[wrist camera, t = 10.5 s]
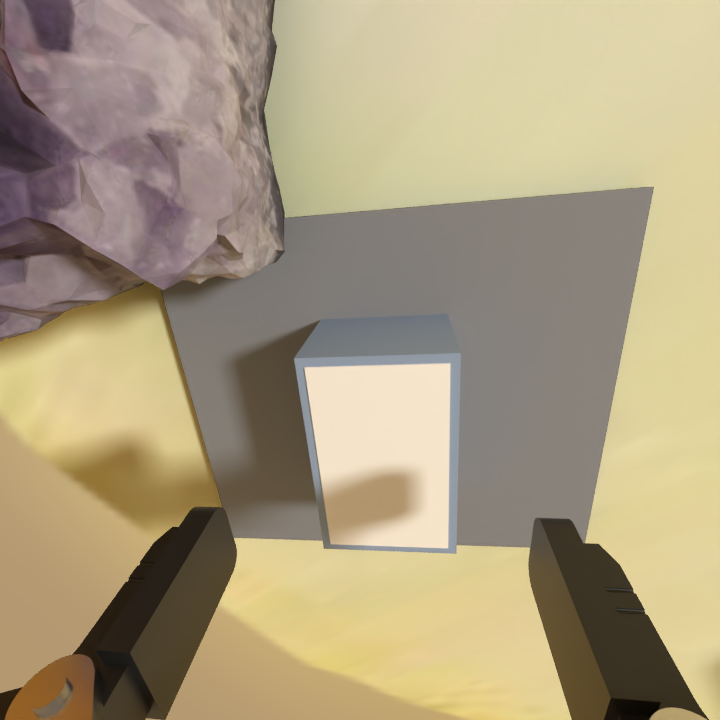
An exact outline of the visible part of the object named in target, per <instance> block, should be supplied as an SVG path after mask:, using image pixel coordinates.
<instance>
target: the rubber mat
mask: <svg viewBox="0 0 720 720" xmlns="http://www.w3.org/2000/svg"><path fill="white" fill-rule="evenodd" d="M653 189H654V187H641V188H629V189H618V190H606V191H594V192H583V193H571V194H559V195H547V196H536V197H524V198H512V199H501V200H489V201H477V202H466V203H454V204H442V205H431V206H419V207H407V208H395V209H384V210H372V211H360V212H349V213H337V214H325V215H314V216H302V217H290V218H284V247H285V252H284V253H283V255H282V256H281V257H280V258H279V260H278V261H277V262H276V263H273V264H270V265H267V266H265V267H263V268H262V269H261V270H260V271H258V272H256V273H254V274H251V275H249V276H247V277H245V278H236V279H229V278H225V277H222V276H215V277H212V278H208V279H206V280H205V281H203V282H202V283H200V284H198V283H195V282H190V281H183V280H181V281H180V282H178V283H176V284H174V285H172V286H170V287H169V288H167V289H165V290H162V289H161V293H162V296H163V300H164V303H165V307H166V310H167V314H168V317H169V321H170V324H171V328H172V331H173V335H174V338H175V342H176V345H177V349H178V352H179V356H180V359H181V363H182V366H183V370H184V373H185V377H186V380H187V384H188V387H189V391H190V394H191V398H192V401H193V405H194V408H195V412H196V415H197V419H198V422H199V426H200V429H201V433H202V436H203V440H204V443H205V447H206V450H207V454H208V457H209V461H210V464H211V468H212V471H213V475H214V478H215V482H216V485H217V489H218V492H219V496H220V499H221V503H222V506H223V508H224V509H225V511H226V513H227V517H228V520H229V524H230V527H231V531H232V534H233V538H260V539H290V540H320V541H323V538H322V532H321V526H320V520H319V513H318V507H317V501H316V494H315V488H314V482H313V475H312V469H311V463H310V457H309V450H308V444H307V438H306V431H305V425H304V419H303V412H302V406H301V400H300V394H299V387H298V381H297V375H296V368H295V362H294V358H295V356H296V355H297V353H298V352H299V350H300V349H301V347H302V346H303V345H304V343H305V342H306V340H307V339H308V337H309V336H310V335H311V333H312V332H313V330H314V329H315V327H316V326H317V324H318V323H319V322H320V320H326V319H348V318H371V317H393V316H416V315H438V314H448V316H449V319H450V322H451V325H452V328H453V331H454V334H455V337H456V340H457V343H458V346H459V349H460V352H461V373H460V416H459V459H458V502H457V545H472V546H502V547H531V540H532V533H533V525H534V520H535V518H561V519H570V520H571V521H572V522H573V523H574V525H575V527H576V529H577V531H578V533H579V535H580V537H581V539H582V541H583V543H585V540H586V534H587V529H588V524H589V519H590V514H591V509H592V503H593V498H594V493H595V488H596V483H597V478H598V473H599V467H600V462H601V457H602V452H603V447H604V442H605V436H606V431H607V426H608V421H609V416H610V411H611V405H612V400H613V395H614V390H615V385H616V380H617V375H618V369H619V364H620V359H621V354H622V349H623V344H624V338H625V333H626V328H627V323H628V318H629V313H630V307H631V302H632V297H633V292H634V287H635V282H636V277H637V271H638V266H639V261H640V256H641V251H642V246H643V240H644V235H645V230H646V225H647V220H648V215H649V210H650V204H651V199H652V194H653Z"/></svg>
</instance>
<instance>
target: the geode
mask: <svg viewBox="0 0 720 720" xmlns="http://www.w3.org/2000/svg"><path fill="white" fill-rule="evenodd" d="M274 2H275V0H0V342H1V341H2V340H3V339H5V338H11V337H15V336H18V335H21V334H25V333H28V332H31V331H35V330H38V329H39V328H40V327H42V326H43V325H44V324H46V323H48V322H49V321H51V320H53V319H55V318H56V317H58V316H60V315H61V314H62V313H63V312H65V311H67V310H70V309H72V308H75V307H79V306H84V305H91V304H93V303H96V302H99V301H105V300H107V299H109V298H111V297H113V296H114V295H117V294H120V293H122V292H125V291H127V290H130V289H133V288H135V287H138V286H140V285H143V284H144V283H145V282H147V281H148V282H150V283H151V284H153V285H155V286H157V287H159V288H160V289H162V290H165V289H167V288H169V287H170V286H172V285H174V284H176V283H178V282H180V281H181V280H183V281H190V282H195V283H198V284H200V283H202V282H203V281H205V280H206V279H208V278H212V277H215V276H222V277H225V278H229V279H236V278H245V277H247V276H249V275H251V274H254V273H256V272H258V271H260V270H261V269H262V268H263V267H265V266H267V265H270V264H273V263H276V262H277V261H278V260H279V258H280V257H281V256H282V255H283V253H284V252H285V247H284V209H283V204H282V199H281V194H280V189H279V186H278V182H277V179H276V175H275V172H274V167H273V162H272V157H271V152H270V147H269V141H268V134H267V127H266V120H265V114H264V107H265V102H266V98H267V94H268V90H269V85H270V81H271V76H272V70H273V65H274V59H275V54H276V48H277V45H276V42H275V39H274V36H273V33H272V22H273V12H274Z"/></svg>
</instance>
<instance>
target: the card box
mask: <svg viewBox="0 0 720 720" xmlns="http://www.w3.org/2000/svg"><path fill="white" fill-rule="evenodd" d="M294 362H295V368H296V375H297V381H298V387H299V394H300V400H301V406H302V412H303V419H304V425H305V431H306V438H307V444H308V450H309V457H310V463H311V469H312V475H313V482H314V488H315V494H316V501H317V507H318V513H319V520H320V526H321V532H322V538H323V545H324V549H349V550H375V551H402V552H428V553H454V554H456V545H457V502H458V459H459V416H460V373H461V352H460V349H459V346H458V343H457V340H456V337H455V334H454V331H453V328H452V325H451V322H450V319H449V316H448V314H438V315H416V316H393V317H371V318H348V319H326V320H320V322H319V323H318V324H317V326H316V327H315V329H314V330H313V332H312V333H311V335H310V336H309V337H308V339H307V340H306V342H305V343H304V345H303V346H302V347H301V349H300V350H299V352H298V353H297V355H296V356H295V358H294Z"/></svg>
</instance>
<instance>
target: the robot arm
mask: <svg viewBox="0 0 720 720" xmlns="http://www.w3.org/2000/svg"><path fill="white" fill-rule="evenodd" d="M236 557H237V549H236V544H235V541H234V538H233V534H232V531H231V527H230V524H229V520H228V517H227V513H226V511H225V509H224V508H219V507H194V508H193V509H191V510H190V512H189V513H188V514H187V516H186V517H185V519H184V520H183V522H182V523H181V525H180V526H179V527H172V528H171V529H170V530H168V531H167V532H166V533H165V534H164V535H163V536H161V537H160V538H159V539H158V540H157V541H155V542H154V543H153V545H152V546H151V548H150V549H149V551H148V552H147V553H146V554H145V556H144V557H143V559H142V560H141V561H140V565H139V566H137V567H136V569H135V570H134V571H133V573H132V574H131V575H130V577H129V581H128V582H126V583H125V584H124V585H123V586H122V588H121V589H120V591H119V592H118V593H117V595H116V597H115V598H114V599H113V600H112V602H111V603H110V605H109V606H108V607H107V609H106V610H105V612H104V613H103V614H102V616H101V617H100V619H99V620H98V621H97V623H96V624H95V625H94V627H93V628H92V630H91V631H90V632H89V634H88V635H87V636H86V638H85V639H84V641H83V642H82V644H81V645H80V646H79V647H78V649H77V650H76V651H75V652H74V653H73V654H72V655H69V656H65V657H62V658H60V659H58V660H56V661H54V662H52V663H51V664H49V665H47V666H46V667H45V668H43V669H42V670H40V671H39V672H38V673H37V674H35V675H34V676H33V677H32V678H31V679H30V680H29V681H28V682H27V683H26V684H25V685H24V686H23V687H22V688H18V689H14V690H11V691H7V692H4V693H0V720H145V719H146V718H153V719H161V720H165V719H166V717H167V715H168V713H169V711H170V708H171V706H172V704H173V702H174V700H175V697H176V695H177V693H178V691H179V689H180V687H181V684H182V682H183V680H184V678H185V676H186V673H187V671H188V669H189V667H190V665H191V663H192V660H193V658H194V656H195V654H196V651H197V649H198V647H199V645H200V643H201V641H202V639H203V636H204V634H205V632H206V630H207V628H208V625H209V623H210V621H211V619H212V617H213V614H214V612H215V610H216V608H217V606H218V604H219V602H220V599H221V597H222V595H223V593H224V591H225V588H226V586H227V584H228V582H229V580H230V578H231V575H232V573H233V571H234V568H235V564H236ZM529 577H530V582H531V587H532V591H533V594H534V597H535V601H536V604H537V607H538V610H539V614H540V617H541V620H542V623H543V627H544V630H545V633H546V637H547V640H548V643H549V646H550V650H551V653H552V656H553V659H554V663H555V666H556V669H557V672H558V676H559V679H560V682H561V686H562V689H563V692H564V695H565V699H566V702H567V705H568V708H569V712H570V715H571V718H572V720H709V719H708V718H707V716H706V715H705V714H704V712H703V711H702V710H701V708H700V707H699V705H698V704H697V702H696V700H695V699H694V697H693V695H692V693H691V692H690V690H689V688H688V686H687V685H686V683H685V681H684V679H683V677H682V676H681V674H680V672H679V670H678V668H677V667H676V665H675V663H674V661H673V659H672V658H671V656H670V654H669V652H668V651H667V649H666V647H665V645H664V643H663V642H662V640H661V638H660V636H659V634H658V633H657V631H656V629H655V627H654V625H653V624H652V622H651V620H650V618H649V616H648V615H646V614H645V611H644V610H645V609H644V608H643V606H642V604H641V602H640V600H639V599H638V597H637V595H636V594H634V592H633V588H632V586H631V584H630V582H629V581H628V579H627V577H626V575H625V574H624V572H623V570H622V568H621V566H620V565H619V564H618V563H617V562H616V561H615V560H614V559H613V558H612V557H611V556H610V555H609V554H608V553H607V552H606V551H605V550H604V549H603V548H602V547H601V546H600V545H599V544H586V543H583V541H582V539H581V537H580V535H579V533H578V531H577V529H576V527H575V525H574V523H573V522H572V521H571V520H570V519H561V518H535V520H534V525H533V533H532V540H531V547H530V555H529Z"/></svg>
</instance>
